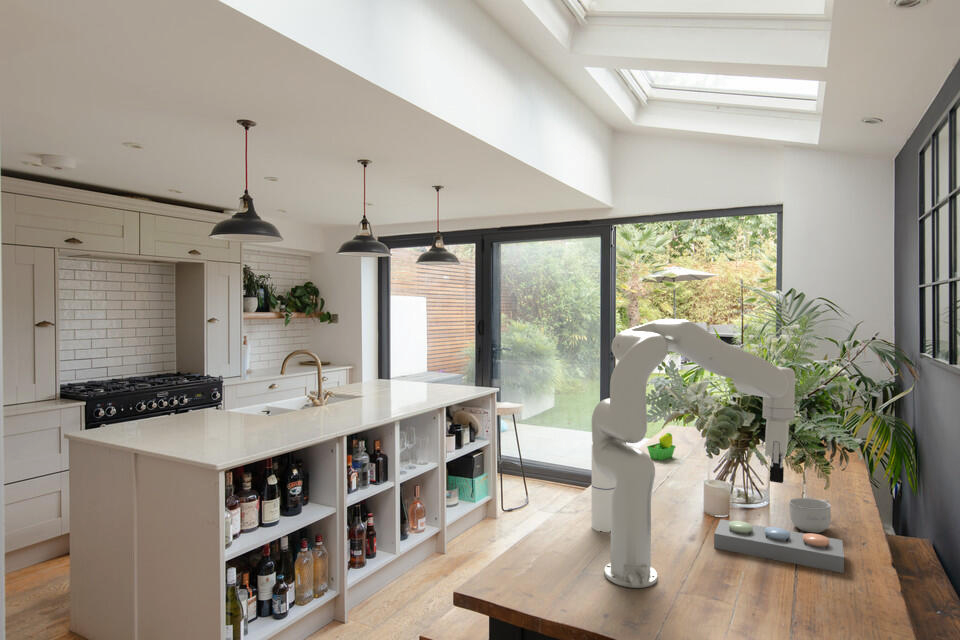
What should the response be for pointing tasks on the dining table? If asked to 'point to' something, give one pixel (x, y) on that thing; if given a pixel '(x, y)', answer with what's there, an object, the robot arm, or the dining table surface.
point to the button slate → (777, 533)
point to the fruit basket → (662, 448)
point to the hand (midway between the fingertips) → (776, 481)
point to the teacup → (810, 514)
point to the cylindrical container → (601, 499)
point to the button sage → (740, 527)
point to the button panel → (780, 547)
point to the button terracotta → (816, 540)
